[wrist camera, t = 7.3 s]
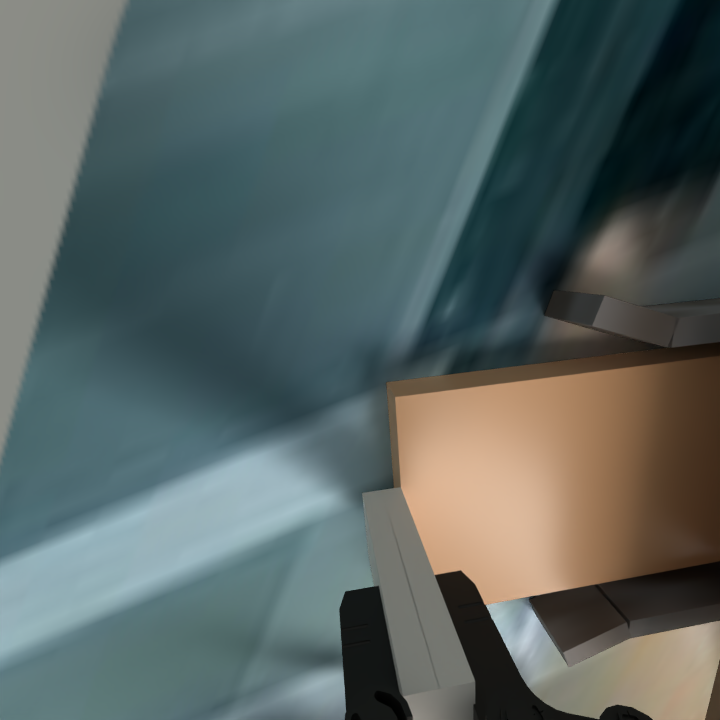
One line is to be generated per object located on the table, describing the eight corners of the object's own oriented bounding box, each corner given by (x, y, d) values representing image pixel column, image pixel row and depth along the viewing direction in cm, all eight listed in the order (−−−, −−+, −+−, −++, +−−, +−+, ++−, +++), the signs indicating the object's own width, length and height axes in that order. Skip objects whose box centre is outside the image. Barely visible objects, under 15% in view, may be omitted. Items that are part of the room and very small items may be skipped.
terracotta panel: (398, 578, 17) (409, 618, 15) (384, 379, 14) (395, 397, 12) (703, 525, 18) (748, 555, 16) (742, 335, 16) (801, 345, 14)
